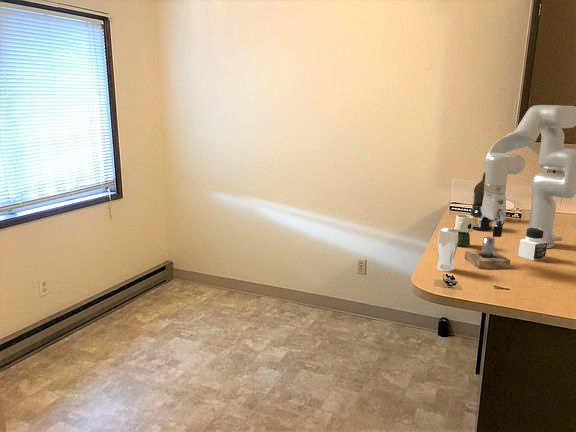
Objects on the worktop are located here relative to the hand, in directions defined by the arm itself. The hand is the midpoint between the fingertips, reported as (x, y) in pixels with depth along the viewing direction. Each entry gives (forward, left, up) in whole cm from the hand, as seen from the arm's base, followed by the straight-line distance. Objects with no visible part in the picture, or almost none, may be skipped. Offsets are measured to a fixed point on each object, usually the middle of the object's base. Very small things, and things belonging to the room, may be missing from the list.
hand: (490, 233), depth 189 cm
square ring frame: (0, 0, -12) cm, 12 cm away
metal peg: (0, 0, -12) cm, 12 cm away
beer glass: (+19, +6, -12) cm, 24 cm away
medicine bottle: (-22, -6, -12) cm, 25 cm away
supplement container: (-23, -52, -12) cm, 58 cm away
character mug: (-1, -24, -12) cm, 27 cm away
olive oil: (-33, -71, -12) cm, 79 cm away
